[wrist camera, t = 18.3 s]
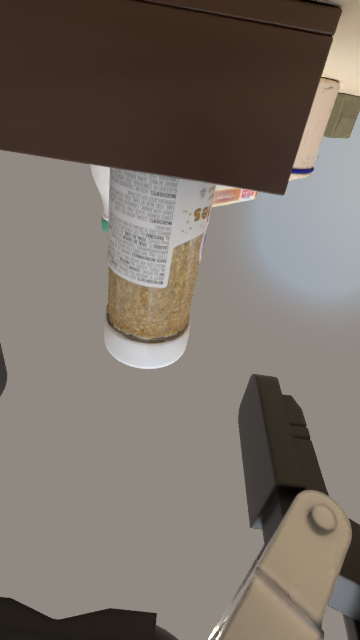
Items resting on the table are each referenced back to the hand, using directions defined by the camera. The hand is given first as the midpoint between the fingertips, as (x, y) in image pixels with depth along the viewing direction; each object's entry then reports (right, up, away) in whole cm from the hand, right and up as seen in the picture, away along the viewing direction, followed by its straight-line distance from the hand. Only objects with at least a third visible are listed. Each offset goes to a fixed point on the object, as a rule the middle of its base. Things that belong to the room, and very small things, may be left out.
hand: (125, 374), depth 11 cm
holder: (-2, +12, 0) cm, 13 cm away
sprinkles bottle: (+2, +11, 0) cm, 12 cm away
